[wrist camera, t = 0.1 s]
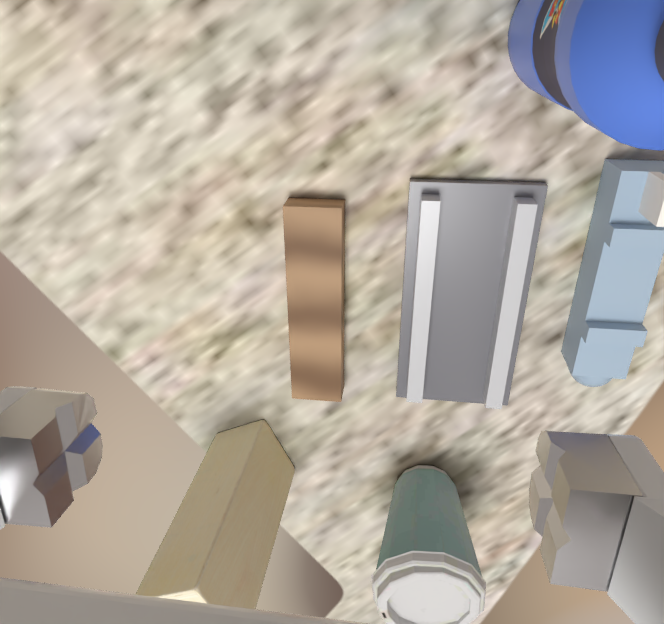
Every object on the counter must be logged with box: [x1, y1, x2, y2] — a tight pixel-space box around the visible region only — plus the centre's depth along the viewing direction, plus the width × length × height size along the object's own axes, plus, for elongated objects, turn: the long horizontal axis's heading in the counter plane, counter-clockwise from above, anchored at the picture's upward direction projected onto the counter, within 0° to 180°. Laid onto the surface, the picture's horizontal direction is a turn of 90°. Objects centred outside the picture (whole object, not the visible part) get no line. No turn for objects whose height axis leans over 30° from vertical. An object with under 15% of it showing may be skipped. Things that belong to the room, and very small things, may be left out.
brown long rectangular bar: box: [283, 198, 345, 402], centre depth 52 cm, size 20×5×3 cm, turn 0°
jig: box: [396, 179, 548, 409], centre depth 49 cm, size 22×11×3 cm, turn 0°
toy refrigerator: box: [135, 420, 295, 609], centre depth 54 cm, size 8×7×21 cm
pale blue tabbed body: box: [561, 159, 664, 387], centre depth 44 cm, size 20×4×8 cm, turn 0°
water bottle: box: [508, 0, 664, 150], centre depth 29 cm, size 9×9×25 cm
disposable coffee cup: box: [372, 465, 486, 624], centre depth 55 cm, size 11×11×15 cm
